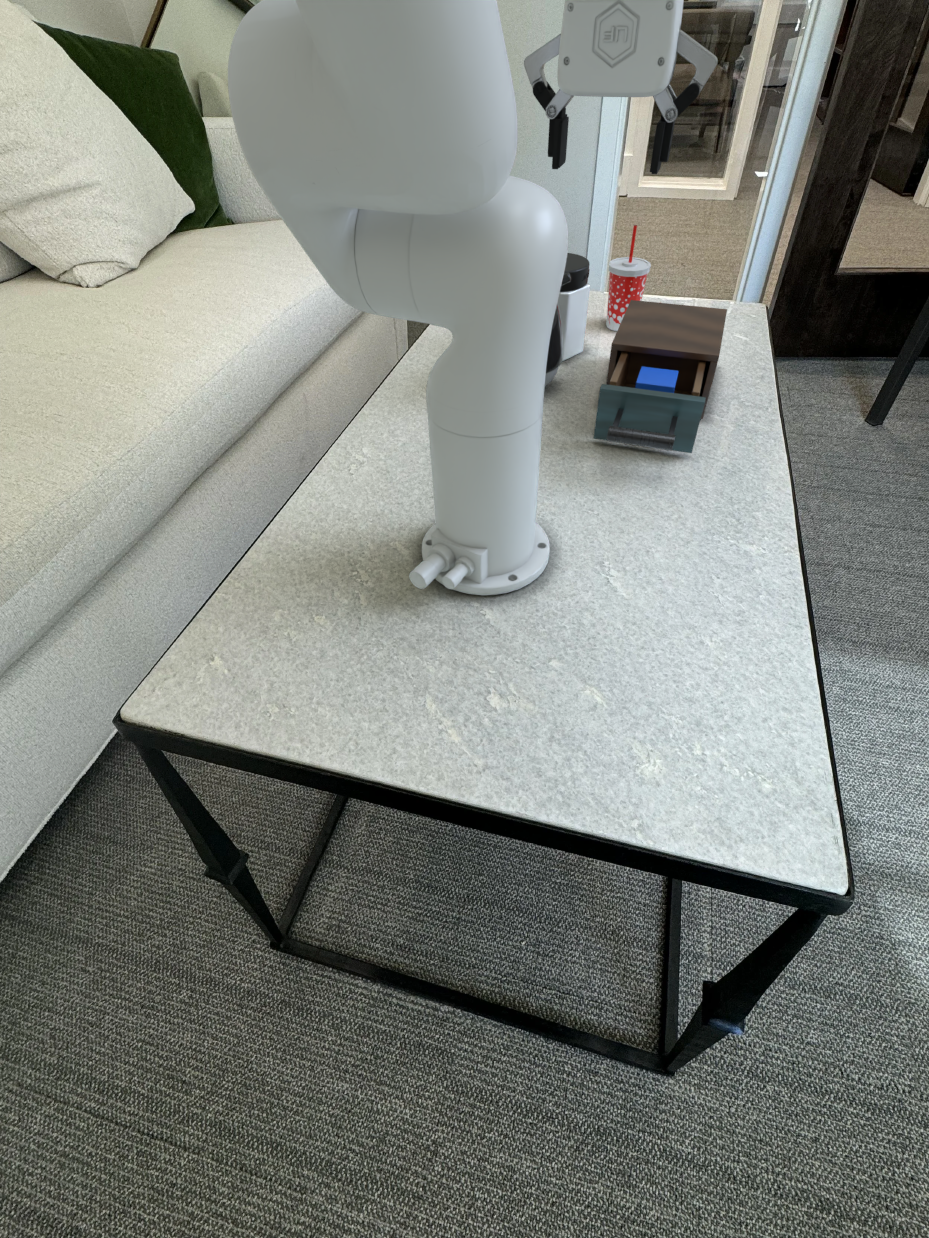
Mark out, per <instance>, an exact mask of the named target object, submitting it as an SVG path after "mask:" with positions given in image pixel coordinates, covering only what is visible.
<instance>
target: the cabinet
mask: <svg viewBox="0 0 929 1238" xmlns="http://www.w3.org/2000/svg"><path fill="white" fill-rule="evenodd" d="M727 312H728V308H719V307H708V306H700V305H699V306H698V305H688V304H676V303H669V302H668V303H666V302H657V301H645V300H642V301H637V300H631V301H630V303H629V306H628V308H627V310H626V312H625V315H624V317H623V319H622V322H621V324H620V326H619V328H618V331H616V333H615V335H614V338H613V340H612V342H611V347H610V354H609V361H608V368H607V374H606V375H607V376H606V381H605V382H606V383H605V384H607V385H610V380H611V378H612V375H613V373H614V370H615V368H616V365H617V363H618V360H619V358H620V355H621V353H622V351H627V352H635V353H644V354H652V355H661V356H670V357H678V358H687V359H696V360H704V361H706V364H705V369H704V374H703V379H702V384H701V389H700V394H699V396H700V397H706V399H705V404H704V408H703V412H702V415H701V419H700V420H702V419H704V416H705V412H706V408H707V404H708V401H709V397H710V394H711V389H712V386H713V381H714V378H715V373H716V371H717V366H718V362H719V360H720V359H719V358H720V354H721V348H722V342H723V337H724V330H725V324H726V319H727Z"/></svg>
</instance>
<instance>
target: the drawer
mask: <svg viewBox="0 0 929 1238" xmlns="http://www.w3.org/2000/svg"><path fill="white" fill-rule="evenodd" d="M705 364H706V361H704V360H696V359H687V358H678V357H670V356H661V355H652V354H644V353H635V352H627V351H622V353H621V355H620V358H619V360H618V363H617V365H616V368H615V370H614V373H613V375H612V378H611V380H610V385H607V384H606V383H601V385H600V388H599V393H598V400H597V409H596V417H595V424H594V431H593V439H594V440H602V441H607V442H612V443H619V444H626V445H634V446H640V447H645V448H651V449H660V450H667V451H672V452H673V451H674V452H680V453H686V454H687V453H688V454H692V453H693V451H694V446H695V442H696V438H697V435H698V431H699V427H700V422H701V420H702V419H701V415H702V412H703V408H704V404H705V399H706V397H700V396H699V394H700V389H701V384H702V379H703V374H704V369H705ZM642 366H643V367H651V368H659V369H668V370H676V371H679V373H678V377H677V382H676V386H675V391H674V393H669V392H661V391H653V390H645V389H638V388H635V385H636V381H637V378H638V375H639V372H640V369H641V367H642Z"/></svg>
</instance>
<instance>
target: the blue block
mask: <svg viewBox="0 0 929 1238" xmlns="http://www.w3.org/2000/svg"><path fill="white" fill-rule="evenodd" d="M678 373H679V371H676V370H668V369H659V368H651V367H643V366H642V367H641V369H640V372H639V375H638V378H637V381H636V385H635V388H638V389H645V390H653V391H661V392H669V393H674V391H675V386H676V382H677V377H678Z"/></svg>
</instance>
